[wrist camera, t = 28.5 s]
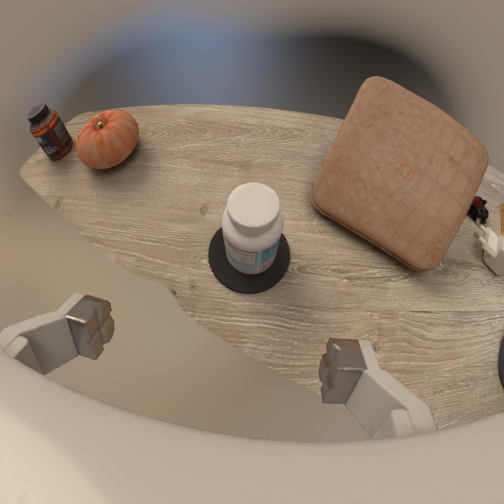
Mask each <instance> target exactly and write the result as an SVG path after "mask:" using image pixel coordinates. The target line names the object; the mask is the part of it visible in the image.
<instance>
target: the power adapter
mask: <svg viewBox="0 0 504 504" xmlns="http://www.w3.org/2000/svg"><path fill="white" fill-rule="evenodd" d="M475 224H476V225H477V226H478V227H479V228H480V229H481V230H483V232H484V234H483V238H482V237H481V236H480V235H479V234H478V233H477V232H474V236H475V237H476V238H477V239H479V240H480V241H481V242H482V248H483V249H484V255H483V260H484V262H485V263H486V265H487V266H488V267H489V268H490V269H491V270H492V271H493V272H494V273H496V274H497V275H498V276H502V275H504V235H500V236H498V235H497V234H496V233H495V232H494V231H493V230H492V229H491V228H490V227H487V228H484V227H483V226H482V225H481V224H480V223H479V222H478V221H476V222H475Z"/></svg>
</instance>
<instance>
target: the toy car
mask: <svg viewBox="0 0 504 504" xmlns="http://www.w3.org/2000/svg"><path fill="white" fill-rule="evenodd" d="M486 203H487V201H486V200H483V199H482V198H480V197H479V196H478V197H476V196H475V197H474V199H473V201H472V203H471V205H470V208H469V210H468V212H467V215H469V216H471V217H472V218H473V217H474V220H475V222H476V221H478V222H479V223H481V224H485V222H486V219H487V218H488V217H489V216H488V214H489V213H488V211H487V209H486V208H485V204H486ZM482 220H483V221H482Z"/></svg>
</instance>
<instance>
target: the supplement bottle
mask: <svg viewBox="0 0 504 504" xmlns="http://www.w3.org/2000/svg"><path fill="white" fill-rule="evenodd" d="M27 118H28V119H29V121H30V122H31V124H30V132H31V133H32V135H33V136H34V138H35V139H36V141H37V142H38V143H39V145H40V146H41V148H42V149H43V150H44V152H45V153H46V154H47V156H48V157H49V158H50V159H51V160H56V159H59V158H61V157H63V156H64V155H65V154H66V153H67V152H68V151H69V150H70V148H71V146H72V143H73V140H72V138H71V136H70V134H69V133H68V131H67V129H66V128H65V126H64V124H63V122H62V121H61V119H60V117H59V116H58V114H57V112H56V111H55V110H54V109H52V108H48V107H47V105H46V104H45V103H44V102H42V103H40V104H38V105H36V106H35V107H34V108H32V109H31V111H30V112H29V114H28V116H27Z"/></svg>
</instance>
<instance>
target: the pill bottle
mask: <svg viewBox="0 0 504 504" xmlns="http://www.w3.org/2000/svg"><path fill="white" fill-rule="evenodd" d="M282 230H283V216H282V213H281V210H280V201H279V198H278V196H277V194H276V193H275V192H274V191H273V190H272V189H271V188H270V187H268V186H266V185H264V184H260V183H246V184H243V185H241V186H239V187H237V188H236V189H235V190H233V192H232V193H231V194H230V196H229V198H228V202H227V207H226V208H225V210H224V213H223V216H222V231H223V237H224V243H225V249H226V255H227V258H228V260H229V262H230V264H231V265H232V266H233V267H234V268H235V269H236V270H238V271H239V272H242V273H245V274H257V273H261V272H263V271H265V270H266V269H267V268H269V267H270V265H271V264H272V263H273V261H274V259H275V256H276V252H277V249H278V245H279V241H280V238H281V234H282Z"/></svg>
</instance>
